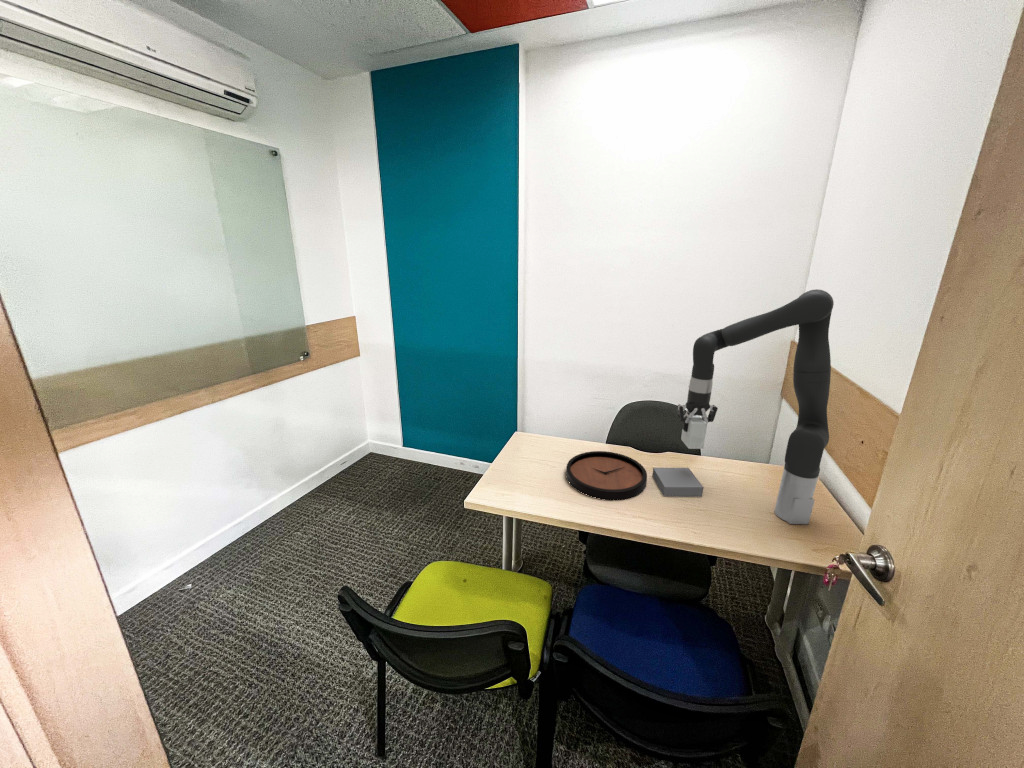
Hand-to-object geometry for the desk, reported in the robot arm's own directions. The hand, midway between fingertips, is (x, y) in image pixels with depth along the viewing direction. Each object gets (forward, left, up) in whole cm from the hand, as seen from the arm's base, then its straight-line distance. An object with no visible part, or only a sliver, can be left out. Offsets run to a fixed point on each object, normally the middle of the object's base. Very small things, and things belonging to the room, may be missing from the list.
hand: (693, 431), depth 149 cm
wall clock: (+3, +31, -22) cm, 39 cm away
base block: (-3, +5, -22) cm, 23 cm away
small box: (0, 0, -6) cm, 6 cm away
